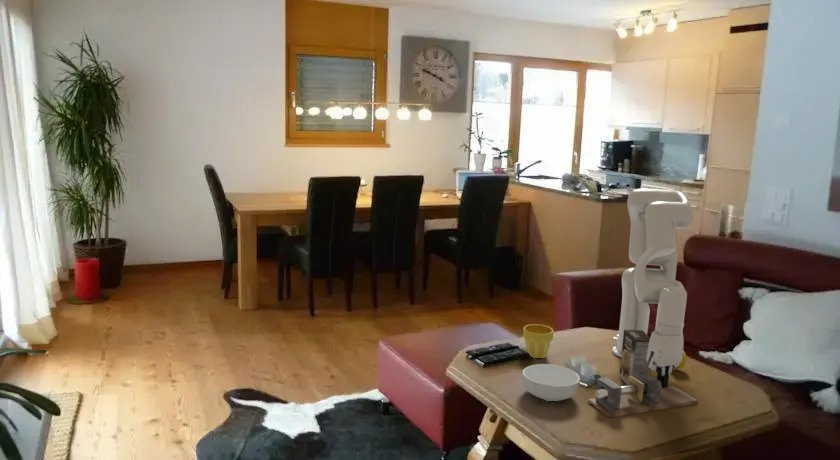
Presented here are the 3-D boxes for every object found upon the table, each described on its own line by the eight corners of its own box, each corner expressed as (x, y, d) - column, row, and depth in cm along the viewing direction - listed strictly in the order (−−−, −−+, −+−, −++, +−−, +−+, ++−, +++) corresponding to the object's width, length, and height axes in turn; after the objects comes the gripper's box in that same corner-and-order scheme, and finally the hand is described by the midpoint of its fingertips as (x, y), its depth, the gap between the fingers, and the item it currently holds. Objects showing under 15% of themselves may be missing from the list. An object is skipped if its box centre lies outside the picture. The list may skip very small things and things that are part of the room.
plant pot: (515, 353, 226) (517, 326, 224) (535, 347, 232) (537, 321, 230) (536, 363, 218) (539, 336, 216) (557, 357, 224) (560, 330, 222)
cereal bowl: (580, 390, 199) (582, 368, 198) (575, 413, 183) (577, 390, 182) (526, 380, 204) (527, 359, 203) (516, 402, 189) (517, 379, 187)
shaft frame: (673, 389, 202) (676, 365, 201) (697, 403, 193) (700, 378, 191) (588, 402, 191) (590, 377, 189) (609, 417, 182) (612, 391, 180)
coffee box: (618, 376, 210) (623, 329, 207) (637, 376, 211) (642, 329, 208) (629, 388, 202) (634, 339, 198) (649, 388, 202) (654, 339, 199)
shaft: (650, 389, 195) (652, 375, 194) (660, 395, 191) (662, 381, 190) (592, 397, 187) (593, 383, 186) (601, 404, 183) (603, 390, 182)
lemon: (686, 374, 214) (689, 351, 213) (668, 372, 215) (671, 349, 214) (683, 367, 220) (686, 345, 218) (666, 365, 221) (668, 343, 219)
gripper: (679, 321, 196) (671, 377, 199) (639, 326, 190) (633, 383, 194) (698, 330, 189) (690, 388, 193) (657, 335, 183) (650, 394, 187)
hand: (661, 385), depth 193 cm, fingers closed
